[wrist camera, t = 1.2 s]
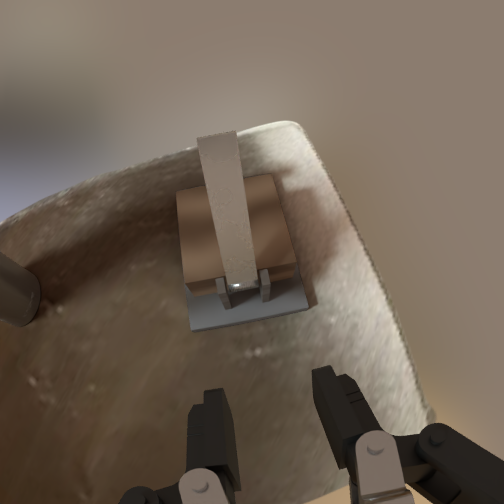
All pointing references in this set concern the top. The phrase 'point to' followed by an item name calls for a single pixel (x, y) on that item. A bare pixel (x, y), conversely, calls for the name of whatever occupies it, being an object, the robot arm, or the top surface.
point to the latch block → (212, 270)
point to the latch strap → (229, 208)
